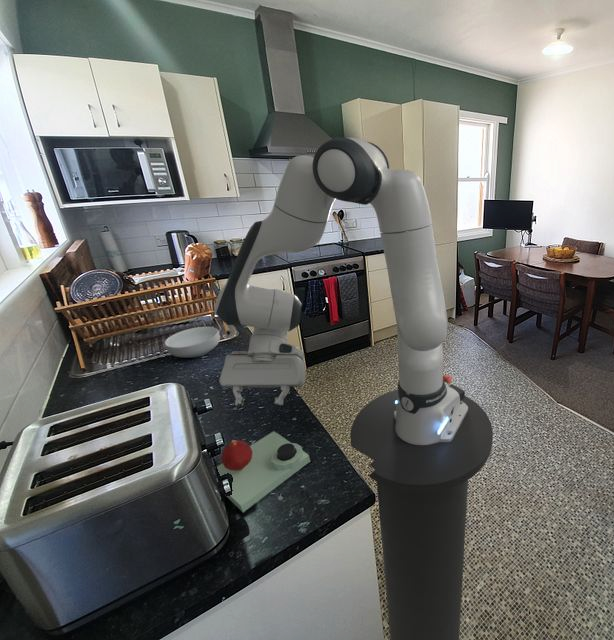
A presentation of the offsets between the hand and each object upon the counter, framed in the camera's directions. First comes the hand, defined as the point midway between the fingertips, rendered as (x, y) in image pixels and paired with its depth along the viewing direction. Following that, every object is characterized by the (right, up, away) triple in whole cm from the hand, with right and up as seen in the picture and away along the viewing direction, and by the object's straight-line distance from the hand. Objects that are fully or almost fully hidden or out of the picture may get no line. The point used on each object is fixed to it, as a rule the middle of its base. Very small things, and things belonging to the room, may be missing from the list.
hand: (259, 405), depth 84 cm
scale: (+4, -13, -6) cm, 15 cm away
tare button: (+9, -10, -6) cm, 15 cm away
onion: (0, -12, -8) cm, 15 cm away
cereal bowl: (-44, +8, +44) cm, 63 cm away
